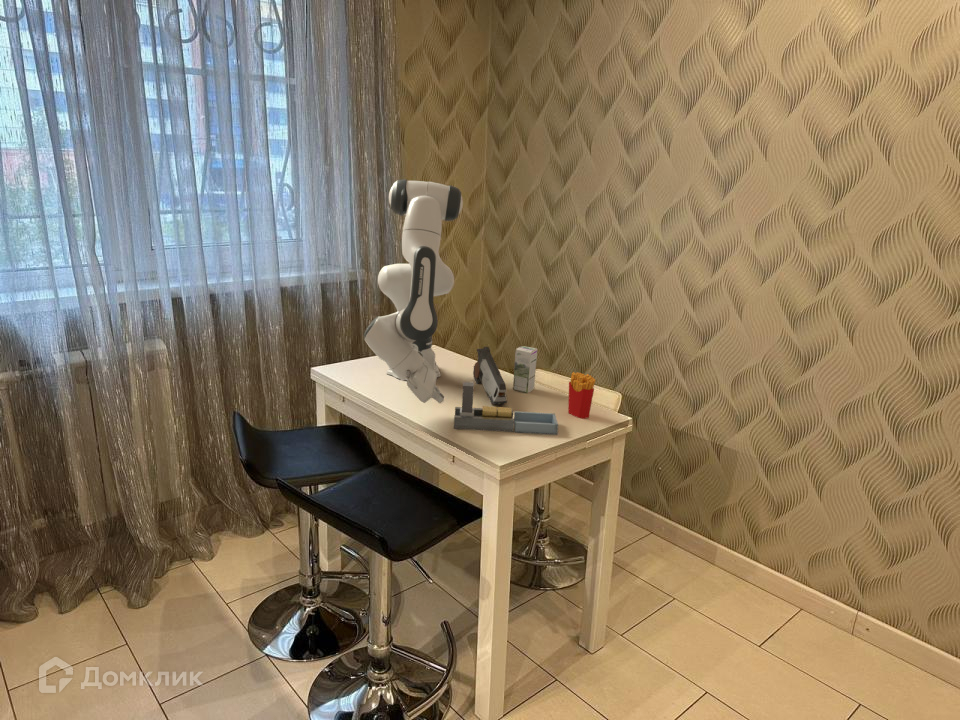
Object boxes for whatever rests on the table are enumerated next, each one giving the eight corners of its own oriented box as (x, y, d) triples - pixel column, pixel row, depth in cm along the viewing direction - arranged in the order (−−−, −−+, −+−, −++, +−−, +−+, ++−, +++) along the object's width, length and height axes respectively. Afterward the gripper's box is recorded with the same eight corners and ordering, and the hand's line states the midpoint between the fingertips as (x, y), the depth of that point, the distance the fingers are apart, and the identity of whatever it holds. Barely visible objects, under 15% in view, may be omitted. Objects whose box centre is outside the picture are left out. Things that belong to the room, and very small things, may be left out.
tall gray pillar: (459, 417, 201) (461, 381, 198) (473, 417, 202) (475, 382, 198) (459, 422, 198) (461, 385, 195) (473, 422, 198) (475, 386, 195)
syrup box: (534, 389, 234) (538, 347, 229) (527, 393, 228) (531, 351, 224) (519, 385, 236) (522, 344, 232) (512, 390, 231) (515, 348, 227)
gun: (489, 423, 218) (496, 384, 210) (469, 374, 240) (474, 337, 232) (504, 422, 219) (511, 384, 211) (482, 374, 241) (488, 337, 233)
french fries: (563, 411, 214) (567, 371, 211) (573, 408, 217) (577, 369, 213) (584, 420, 208) (589, 380, 204) (594, 418, 210) (599, 377, 206)
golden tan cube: (482, 418, 202) (482, 406, 200) (495, 419, 202) (496, 406, 201) (481, 424, 198) (482, 411, 197) (495, 424, 198) (496, 411, 197)
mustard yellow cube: (496, 419, 202) (497, 406, 201) (510, 420, 202) (511, 407, 201) (496, 424, 198) (497, 411, 197) (510, 425, 198) (511, 412, 197)
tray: (513, 420, 204) (514, 411, 204) (554, 422, 205) (554, 413, 204) (515, 432, 196) (515, 422, 195) (557, 434, 196) (558, 424, 195)
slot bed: (454, 417, 204) (455, 406, 203) (512, 421, 204) (512, 409, 203) (453, 428, 196) (454, 417, 195) (513, 431, 196) (514, 420, 195)
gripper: (413, 369, 184) (448, 405, 187) (420, 349, 204) (451, 382, 207) (396, 384, 185) (431, 420, 188) (404, 363, 205) (436, 396, 208)
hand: (442, 400), depth 198 cm, fingers closed
